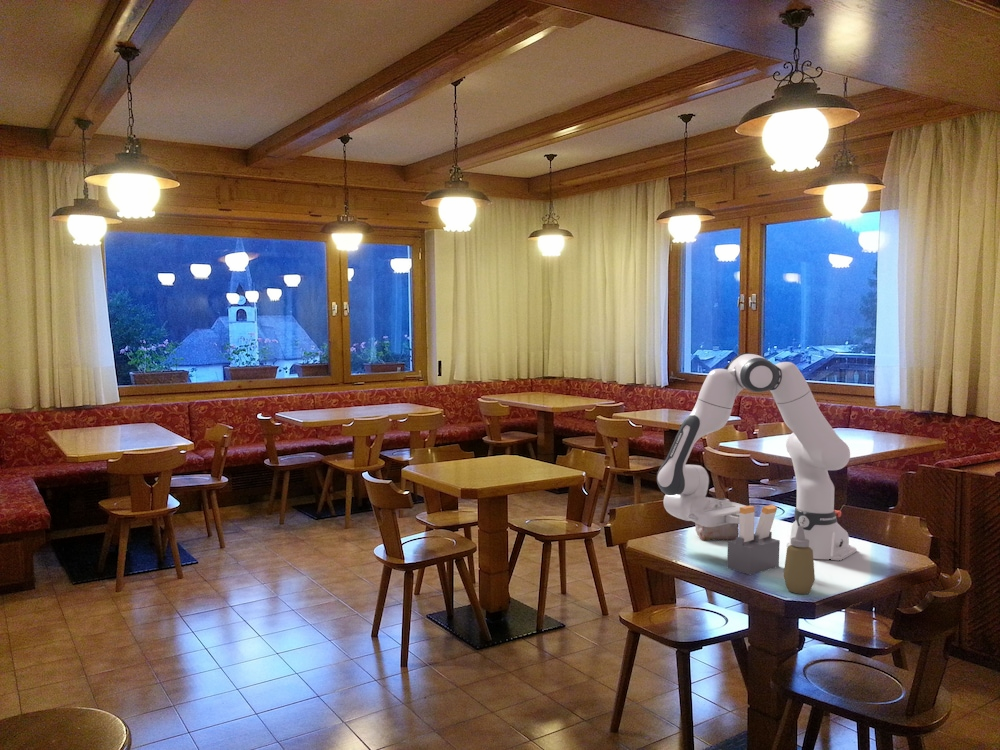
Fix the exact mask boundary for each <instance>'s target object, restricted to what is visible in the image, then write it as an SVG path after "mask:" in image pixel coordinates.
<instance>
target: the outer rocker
mask: <svg viewBox="0 0 1000 750" xmlns="http://www.w3.org/2000/svg"><path fill="white" fill-rule="evenodd" d="M755 507H756V506H752V505H745V507H740V517H739V524H738V529H739V530H738V533H739V534H738V537H740V538H744V542H747V541H751V540H754V534H755V509H756V508H755Z"/></svg>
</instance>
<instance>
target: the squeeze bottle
mask: <svg viewBox="0 0 1000 750" xmlns="http://www.w3.org/2000/svg"><path fill="white" fill-rule="evenodd" d="M786 547H787V546H786ZM814 561H815V560H814V559H813V550H812V549H811V548H810V547H809V540H808V539H806V538H805V534H804V529H803V526H798V529H797V533H796V537H793V538H791V545H790V546H788V547H787V548H786V554H785V562H784V566H783V567H784V568H783V574H782V576H783V580H784V583H785V586H786V589H787V591H788V592H791V593H794V594H799V595H804V594H809V593H810V592H811V591H812V588H813V585H814V583H815V581H816V575H815V563H814Z"/></svg>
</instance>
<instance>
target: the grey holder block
mask: <svg viewBox="0 0 1000 750" xmlns="http://www.w3.org/2000/svg"><path fill="white" fill-rule="evenodd" d="M780 543H781V542H780V540H779V539H775V538H772V531H770V533H769V537H766V538H762V539H758V535H756V534H755V533H754V540H751V541H747V542H744V538H740V537H739V536H738V537H736V540H732V541H727V559H726V560H727V561H726V563H727V565H726V567H728V568H727V569H729V568H731V569H730V570H733V569H735V570H734V571H736V570H737V572H739V571H741V572H740V573H742V572H743V573H742V574H745V573H746V574H745V575H748V574H749V575H748V576H751V575H755V574H759V573H760V572H761V571H762V572H765V571H768V569H769V570H771V569H775V567H776V568H778V567H779V566H780ZM754 573H755V574H754ZM750 574H751V575H750Z"/></svg>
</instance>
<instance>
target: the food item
mask: <svg viewBox="0 0 1000 750" xmlns="http://www.w3.org/2000/svg"><path fill="white" fill-rule="evenodd" d="M694 527H695V532H696V534H697V536H698V537H699V539H700V540H701V541H727V542H728V541H732V540H736V537H739V524H737V523H730V524H725V525H720V526H716V527H704V526H701V525H699V524H696V523H695V526H694Z"/></svg>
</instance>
